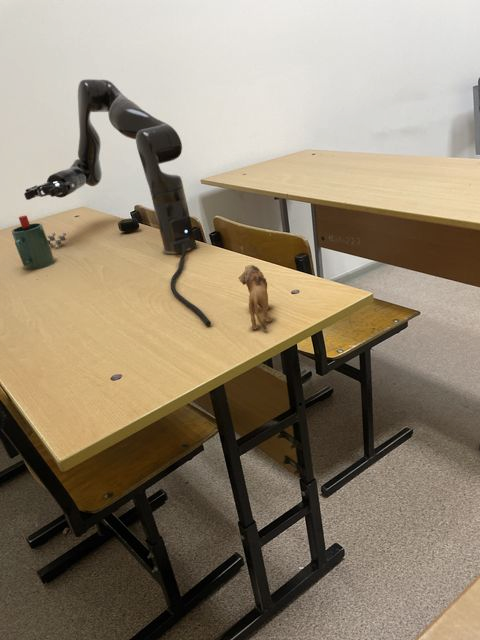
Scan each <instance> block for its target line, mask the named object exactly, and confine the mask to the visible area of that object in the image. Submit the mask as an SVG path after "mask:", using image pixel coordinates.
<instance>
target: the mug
mask: <svg viewBox="0 0 480 640" xmlns="http://www.w3.org/2000/svg"><path fill="white" fill-rule="evenodd" d="M29 224H30V227H31V229H30V230H26V231H24V230H23V228H22V226H17V227H15V228H13V229H11V231H10V232H11V235H12V237H13V240H14V245H15V247H16V250H17V252H18V255H19V257H20V260H21V264H22V266H24V268H25V270H38V269H42V268H46V267H48V266H50V265H52V264H54V263H55V257H54V255H53V252H52V249H51V246H50V245H49V243H48V240H49V239H48V237H47V235H46V232H45V229H44V226H43V223H40V222H35V223H29Z"/></svg>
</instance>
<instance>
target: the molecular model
mask: <svg viewBox="0 0 480 640" xmlns="http://www.w3.org/2000/svg"><path fill="white" fill-rule="evenodd" d="M56 235H57V234H56V232H52V235H50V234H48V235H46V237H47V240H48V243H49V246H50V247H52V246H53V245H54V244H53V243H52V242H54V241H55V244H56V245H55V249H59V247H60V246H61V247H62V246H64V243H63V242H65V243H66V244H69V242H70V240H69V239H66V236H67V233H66V232H62V235H61V234H58V236H57V238H58V239H57V240H56V238H55V236H56ZM59 239H60V240H59Z"/></svg>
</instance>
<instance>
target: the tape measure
mask: <svg viewBox="0 0 480 640" xmlns="http://www.w3.org/2000/svg"><path fill="white" fill-rule="evenodd" d="M117 226H118V229H119V231H120V232H122V233H126V234H127V233H130V232H133V231H136V230H138V229H140V223H139V221H138V219H137V218H136V217H130V218H124V219H121V220H119V221H118V223H117Z"/></svg>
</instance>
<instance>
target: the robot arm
mask: <svg viewBox="0 0 480 640" xmlns="http://www.w3.org/2000/svg"><path fill="white" fill-rule="evenodd" d="M77 110H78V111H77V113H78V129H79V131H78V132H79V138H78V147H77V148H78V149H77V157H78V158H76V159H75V160H74V161H73V162H72V164H71V165H70V167H68V168H66V169H62V170H59V171H57V172H55V173H53V174H51V175H49V176H48V177H47V180H46V182H44V183H43V184H39V185H34V186H31V187H28V188H26V189H25V192H24V193H23V195H24V198H25V199H26V201H29V200H33V199H34V198H37V197H39V198H42V197H47V196H50V197H51V198H53V197H56V198H60V199H61V198H65V197H67V196H68V195H71V194H72V193H74V192H76V191H77V190H78V189H81V188H83V186H85V185H87V186H89V187H96V186H97V185H99V184H100V182H101V180H102V177H103V176H102V175H103V173H102V172H103V171H102V167H101V162H100V152H101V145H102V143H101V142H102V141H101V137H100V135H99V132H98V130H97V129H96V128H95V126H94V124H93V122H92V119H91V113H108V115H107V116H108V120H109V122H110V124H111V126H112V127H113V128H114V129H116V131H118V133H120V135H122V136H124V137H126V138H128V139H132V140H135V144H136V145H135V146H136V149H137V153H138V156H139V160H140V162H141V166H142V169H143V173H144V177H145V180H146V183H147V186H148V189H149V193H150V197H151V201H152V205H153V209H154V213H155V217H156V222H157V226H158V229H159V235H160V238H161V242H162V246H163V252H164V253H165V254H168V255H180V258H179V262H178V268H177V270H176V271H175V272H174V274H173V275H172V276H171V279H170V290H171V292H172V294H173V295H174V297H176V299H178V301H180V302H181V303H182V304H184V306H186V307H187V308H189V309H191V310H192V311H193V312H195V313H196V314H197V315H198V317H200V318H201V320H202V321H203V322H204V324H205V325H206V326H207V327H208V326H209V327H210V326H211V324H212V322H211V320H209V318H208V317H207V316H206V315H205V313H204V312H203V311H202V310H201V309H200V308H199V307H197V306H196V305H195V304H193V303H192V302H190V301H189V300H187V298H185V297H183V296H182V295H181V294H180V293H179V292H178V291H177V288H176V280H177V278H178V276H179V275H180V274H181V272H182V271H183V268H184V261H185V259H186V255H187V252H189V251H192V250H195V249H197V248H198V246H197V243H196V237H195V233H194V229H193V228H194V226H193V224H192V223H193V222H192V219H191V215H190V211H189V205H188V202H187V198H186V197H187V196H186V193H185V187H184V183H183V179H182V177H181V175H178V174H175V173H167V172H164V171H162V169H161V167H160V165H161V164H165V163H169V162H172V161H175V160H177V159H178V158H179V157H180V156H181V154H182V152H183V143H182V140H181V137H180V135H179V134H178V132H177V131H176V129H175V128H174V127H173V126H172V125H170V124H168V123H167V122H165V121H162V120H161V119H158V118H157V117H155V116H153V115H152V114H150V113H149V112H147V111H146V110H144V109H143V108H142V107H141V106H139V105H138V104H137V103H135V102H134V101H133V100H131V99H130V98H128V96H126V95H124V93H122V92H121V90H119V88H118V87H117V86H116V85H115V84H114V83H113V82H112V81H110V80H107V79H95V78H94V79H92V78H88V79H87V78H86V79H81V80H80V81H79V83H78V88H77Z"/></svg>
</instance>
